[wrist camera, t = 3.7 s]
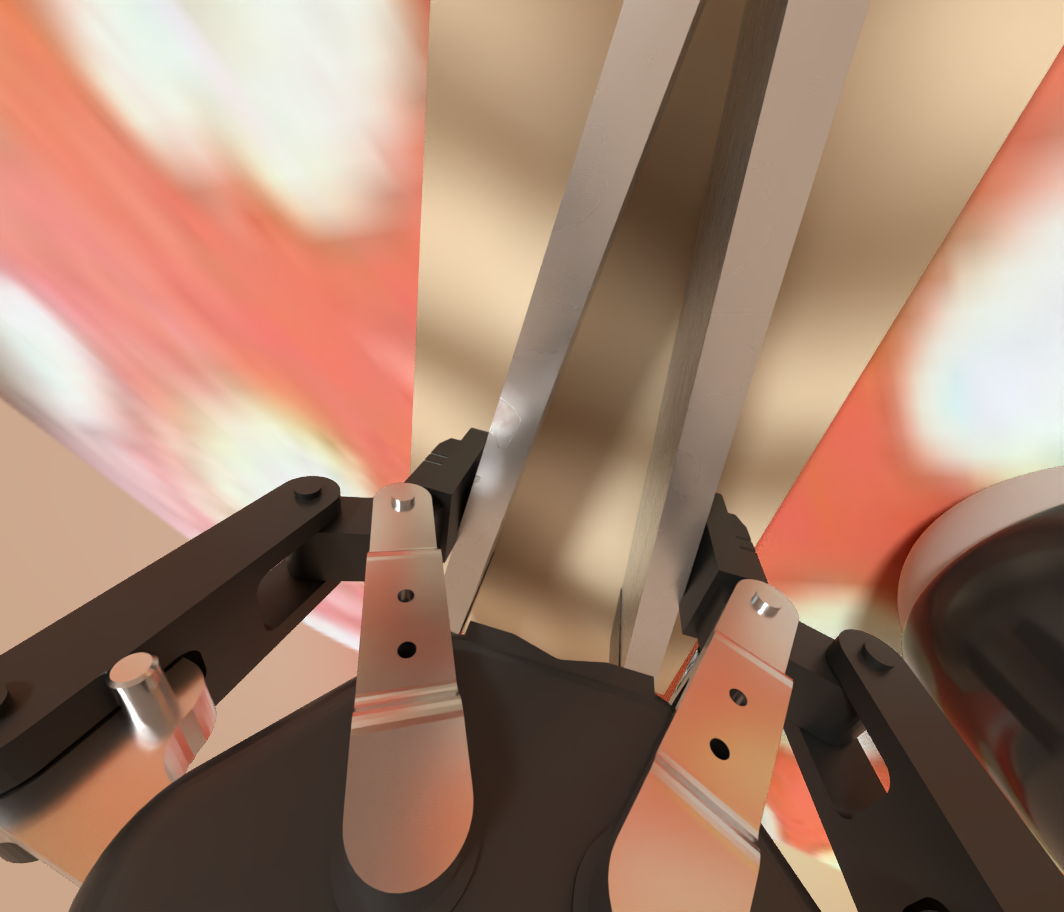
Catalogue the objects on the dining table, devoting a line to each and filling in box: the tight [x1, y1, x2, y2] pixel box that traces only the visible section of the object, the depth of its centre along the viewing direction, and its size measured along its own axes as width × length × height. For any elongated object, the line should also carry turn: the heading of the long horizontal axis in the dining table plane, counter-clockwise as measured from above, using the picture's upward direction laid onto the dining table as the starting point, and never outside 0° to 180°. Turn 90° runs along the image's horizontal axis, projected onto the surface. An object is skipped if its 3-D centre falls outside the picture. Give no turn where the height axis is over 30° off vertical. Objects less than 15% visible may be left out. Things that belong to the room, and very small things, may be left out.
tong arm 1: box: [444, 0, 707, 634], centre depth 12 cm, size 20×1×4 cm, turn 161°
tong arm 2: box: [609, 0, 871, 687], centre depth 11 cm, size 20×1×4 cm, turn 177°
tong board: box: [410, 0, 1064, 695], centre depth 12 cm, size 26×13×6 cm, turn 169°
